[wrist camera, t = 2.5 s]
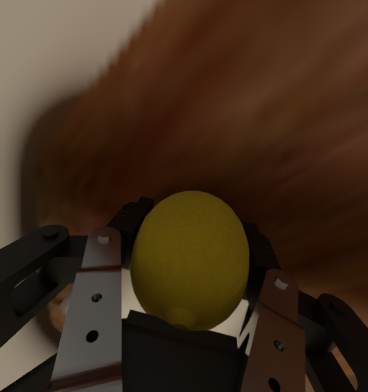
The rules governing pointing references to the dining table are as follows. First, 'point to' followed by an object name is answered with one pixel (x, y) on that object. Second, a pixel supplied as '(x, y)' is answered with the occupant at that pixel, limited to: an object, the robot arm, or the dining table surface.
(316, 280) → the dining table surface
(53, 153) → the dining table surface
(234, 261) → the lemon
